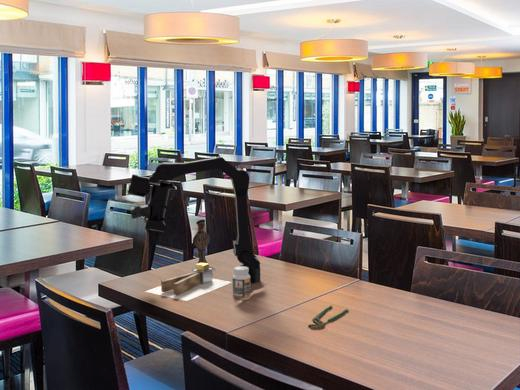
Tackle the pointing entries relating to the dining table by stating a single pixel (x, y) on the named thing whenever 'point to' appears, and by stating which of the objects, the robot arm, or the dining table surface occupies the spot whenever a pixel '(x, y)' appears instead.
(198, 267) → the block
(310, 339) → the dining table surface
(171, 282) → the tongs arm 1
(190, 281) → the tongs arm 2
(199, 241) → the figurine
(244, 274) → the pill bottle
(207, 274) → the hinge block
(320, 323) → the pliers
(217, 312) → the dining table surface
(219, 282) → the board
